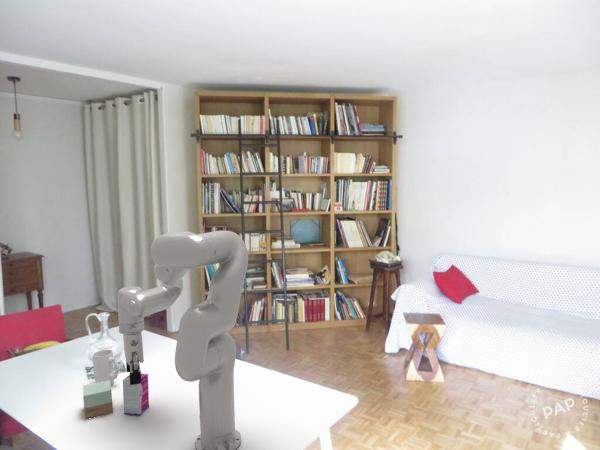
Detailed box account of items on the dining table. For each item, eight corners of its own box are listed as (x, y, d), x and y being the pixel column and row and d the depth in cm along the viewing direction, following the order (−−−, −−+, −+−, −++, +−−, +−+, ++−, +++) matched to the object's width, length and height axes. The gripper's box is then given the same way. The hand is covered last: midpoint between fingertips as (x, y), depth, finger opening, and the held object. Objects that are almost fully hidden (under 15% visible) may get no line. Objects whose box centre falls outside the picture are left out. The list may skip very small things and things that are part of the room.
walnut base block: (113, 413, 139) (112, 401, 138) (85, 420, 135) (84, 408, 135) (111, 402, 146) (110, 391, 145) (84, 408, 142) (83, 397, 142)
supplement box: (140, 416, 137) (138, 381, 135) (123, 414, 138) (121, 379, 137) (150, 406, 142) (148, 373, 141) (133, 405, 143) (131, 372, 142)
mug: (90, 387, 157) (88, 355, 155) (104, 379, 163) (102, 348, 162) (112, 391, 153) (110, 358, 152) (125, 383, 159) (124, 351, 158)
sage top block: (112, 402, 138) (111, 390, 138) (84, 408, 135) (83, 396, 134) (110, 391, 145) (110, 380, 145) (84, 397, 142) (83, 385, 141)
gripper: (148, 332, 131) (150, 386, 133) (140, 316, 147) (142, 364, 149) (121, 337, 128) (123, 392, 130) (116, 319, 143) (118, 368, 145)
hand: (133, 377), depth 139 cm, fingers open, 9 cm apart
